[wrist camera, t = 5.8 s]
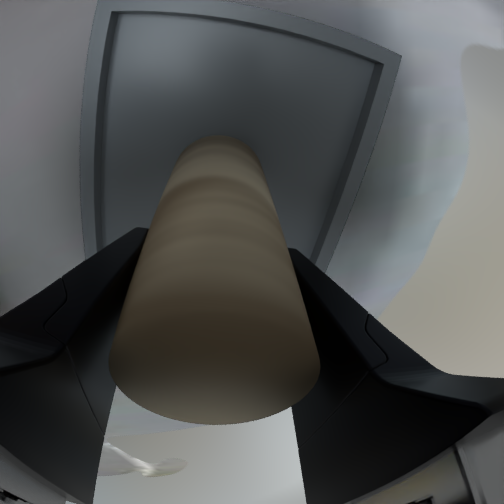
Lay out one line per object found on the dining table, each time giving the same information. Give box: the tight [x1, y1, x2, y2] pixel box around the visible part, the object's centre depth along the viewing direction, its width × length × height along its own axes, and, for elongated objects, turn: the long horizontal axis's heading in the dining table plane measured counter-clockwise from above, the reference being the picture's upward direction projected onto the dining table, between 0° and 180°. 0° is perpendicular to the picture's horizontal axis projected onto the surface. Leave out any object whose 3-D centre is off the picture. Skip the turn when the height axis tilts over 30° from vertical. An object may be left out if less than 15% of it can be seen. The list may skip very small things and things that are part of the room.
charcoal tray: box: [80, 0, 402, 273], centre depth 15 cm, size 16×14×2 cm
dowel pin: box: [108, 135, 320, 425], centre depth 10 cm, size 4×4×10 cm
